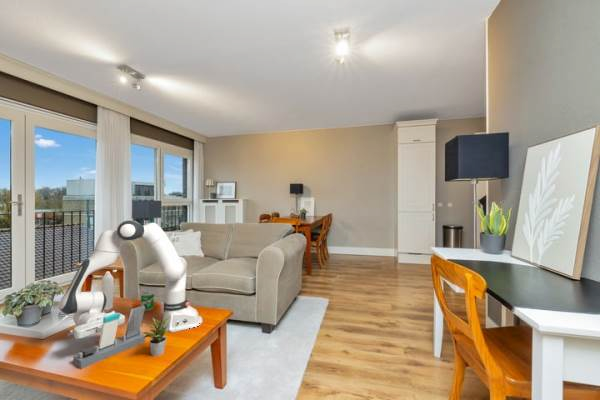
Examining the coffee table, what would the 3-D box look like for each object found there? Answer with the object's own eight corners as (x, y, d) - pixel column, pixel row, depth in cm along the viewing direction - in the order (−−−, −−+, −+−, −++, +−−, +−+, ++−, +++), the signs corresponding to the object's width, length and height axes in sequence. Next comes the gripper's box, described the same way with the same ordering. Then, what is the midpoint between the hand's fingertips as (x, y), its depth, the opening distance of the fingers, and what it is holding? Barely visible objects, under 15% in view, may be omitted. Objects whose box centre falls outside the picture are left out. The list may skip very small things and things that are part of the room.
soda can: (139, 309, 177) (139, 291, 177) (151, 306, 183) (151, 289, 183) (142, 312, 172) (143, 294, 172) (155, 309, 178) (155, 291, 178)
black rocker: (90, 349, 122) (90, 346, 122) (96, 350, 119) (96, 347, 119) (80, 353, 119) (80, 350, 119) (86, 354, 116) (85, 352, 116)
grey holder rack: (136, 337, 141) (136, 327, 141) (144, 341, 137) (145, 331, 137) (73, 362, 118) (73, 350, 118) (81, 369, 114) (81, 356, 114)
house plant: (154, 342, 136) (155, 310, 136) (180, 344, 134) (180, 312, 134) (134, 358, 121) (135, 323, 122) (162, 361, 120) (163, 325, 120)
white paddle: (112, 341, 128) (118, 312, 126) (114, 343, 127) (120, 314, 125) (97, 347, 123) (103, 316, 121) (99, 349, 122) (105, 318, 120)
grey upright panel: (137, 332, 138) (143, 305, 135) (138, 333, 137) (145, 306, 135) (124, 336, 133) (131, 309, 130) (126, 338, 132) (132, 310, 129)
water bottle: (103, 311, 173) (104, 273, 174) (98, 309, 177) (99, 271, 177) (118, 307, 181) (119, 270, 181) (113, 305, 184) (114, 269, 185)
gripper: (68, 324, 123) (81, 331, 116) (117, 309, 140) (130, 315, 133) (68, 337, 123) (80, 346, 116) (116, 321, 140) (130, 328, 133)
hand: (107, 329), depth 124 cm, fingers closed, pressing on white paddle
